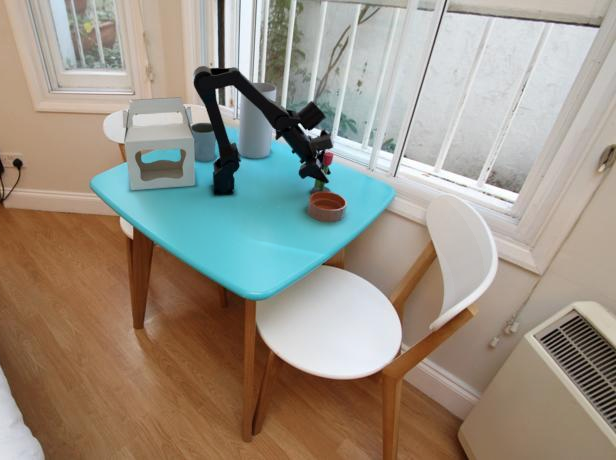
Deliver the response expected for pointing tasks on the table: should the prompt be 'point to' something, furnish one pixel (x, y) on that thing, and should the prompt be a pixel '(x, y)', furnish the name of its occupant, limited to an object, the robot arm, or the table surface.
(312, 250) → the table surface
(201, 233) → the table surface
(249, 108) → the cylinder vase
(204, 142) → the grey cup
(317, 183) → the tulip
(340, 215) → the bowl
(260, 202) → the table surface
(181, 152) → the gable box
